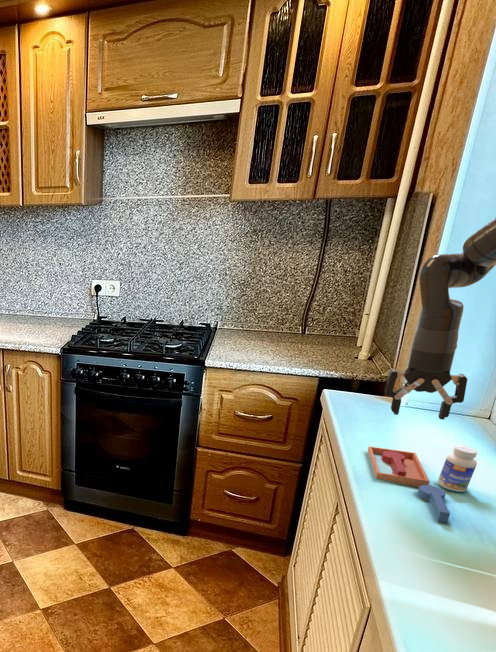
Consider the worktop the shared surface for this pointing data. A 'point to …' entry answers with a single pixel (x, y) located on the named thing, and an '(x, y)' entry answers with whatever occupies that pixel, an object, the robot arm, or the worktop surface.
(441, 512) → the blue spoon
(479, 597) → the worktop surface
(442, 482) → the pill bottle
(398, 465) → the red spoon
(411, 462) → the tray
